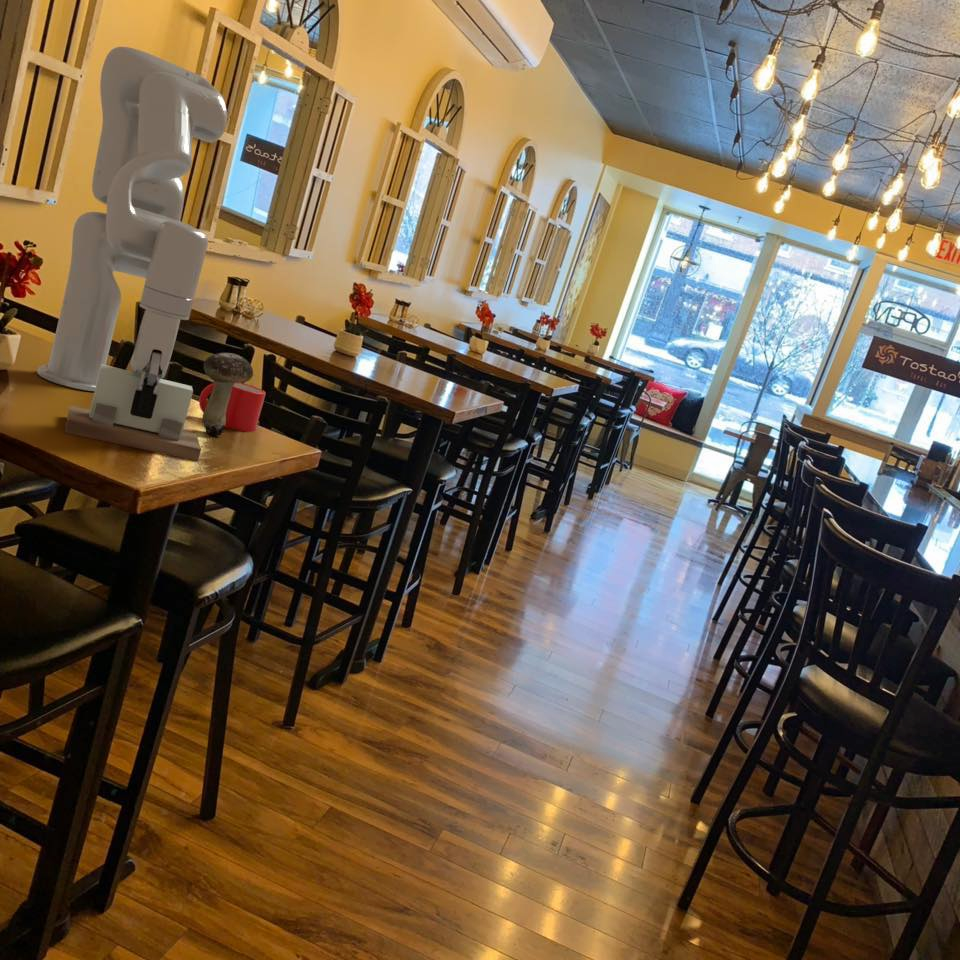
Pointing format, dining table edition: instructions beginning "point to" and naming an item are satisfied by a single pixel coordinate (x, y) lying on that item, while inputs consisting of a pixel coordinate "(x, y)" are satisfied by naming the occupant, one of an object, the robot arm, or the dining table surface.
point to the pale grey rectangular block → (120, 391)
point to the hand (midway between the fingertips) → (139, 409)
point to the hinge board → (132, 432)
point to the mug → (239, 406)
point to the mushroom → (223, 387)
